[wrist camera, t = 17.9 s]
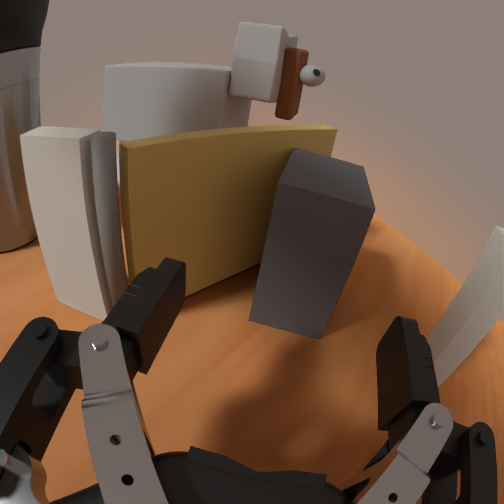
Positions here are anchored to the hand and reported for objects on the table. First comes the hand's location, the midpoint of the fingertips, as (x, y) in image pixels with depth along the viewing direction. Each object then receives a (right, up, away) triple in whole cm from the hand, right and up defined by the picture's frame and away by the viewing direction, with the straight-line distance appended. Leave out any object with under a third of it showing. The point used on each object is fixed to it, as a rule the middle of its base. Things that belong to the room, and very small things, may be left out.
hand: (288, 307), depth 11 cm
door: (-3, +1, +14) cm, 14 cm away
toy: (-8, +14, +31) cm, 35 cm away
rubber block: (+2, -1, +12) cm, 12 cm away
